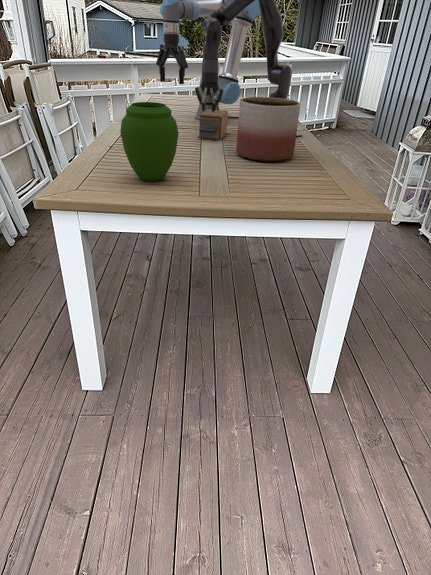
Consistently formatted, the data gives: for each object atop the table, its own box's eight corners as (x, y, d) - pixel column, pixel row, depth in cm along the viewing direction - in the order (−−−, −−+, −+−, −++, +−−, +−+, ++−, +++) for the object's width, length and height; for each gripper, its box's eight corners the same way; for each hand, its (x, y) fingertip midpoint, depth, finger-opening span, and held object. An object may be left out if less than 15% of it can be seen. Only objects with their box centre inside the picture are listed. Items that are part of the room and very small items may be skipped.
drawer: (216, 141, 197) (217, 121, 192) (196, 139, 198) (197, 119, 193) (224, 132, 214) (225, 113, 209) (206, 130, 216) (206, 112, 211)
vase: (131, 189, 135) (125, 110, 122) (118, 172, 150) (112, 100, 137) (186, 184, 142) (187, 109, 129) (169, 168, 157) (167, 99, 144)
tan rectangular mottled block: (220, 140, 203) (221, 116, 198) (199, 138, 205) (199, 114, 199) (226, 133, 217) (227, 110, 212) (206, 131, 219) (207, 109, 213)
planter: (301, 163, 172) (310, 106, 161) (242, 163, 168) (247, 105, 157) (283, 148, 194) (289, 97, 182) (230, 148, 189) (234, 96, 178)
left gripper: (147, 32, 200) (149, 80, 212) (184, 34, 187) (184, 85, 198) (159, 32, 205) (160, 79, 217) (195, 34, 192) (194, 84, 203)
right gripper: (192, 70, 182) (192, 111, 191) (224, 72, 180) (222, 114, 189) (196, 69, 188) (196, 109, 198) (227, 71, 186) (224, 111, 196)
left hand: (171, 82), depth 207 cm, fingers open, 13 cm apart
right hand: (208, 111), depth 193 cm, fingers open, 3 cm apart
